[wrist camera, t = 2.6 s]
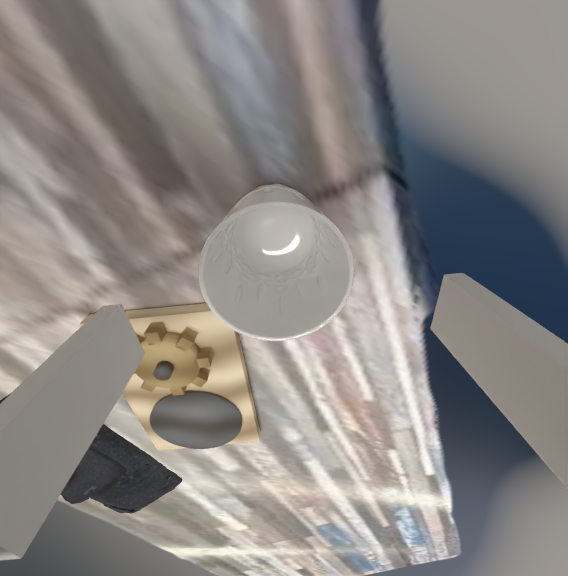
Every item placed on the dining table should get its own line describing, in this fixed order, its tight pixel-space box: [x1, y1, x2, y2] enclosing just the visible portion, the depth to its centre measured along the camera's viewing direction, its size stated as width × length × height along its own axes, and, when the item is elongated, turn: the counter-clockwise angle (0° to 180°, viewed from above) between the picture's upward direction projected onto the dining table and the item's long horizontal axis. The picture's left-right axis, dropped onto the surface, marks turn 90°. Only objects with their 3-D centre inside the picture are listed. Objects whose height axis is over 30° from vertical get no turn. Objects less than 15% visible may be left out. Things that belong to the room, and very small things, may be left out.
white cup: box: [198, 184, 354, 341], centre depth 17 cm, size 8×8×10 cm
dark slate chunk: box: [60, 424, 182, 513], centre depth 37 cm, size 15×22×5 cm
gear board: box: [80, 303, 260, 451], centre depth 29 cm, size 22×14×4 cm, turn 5°
